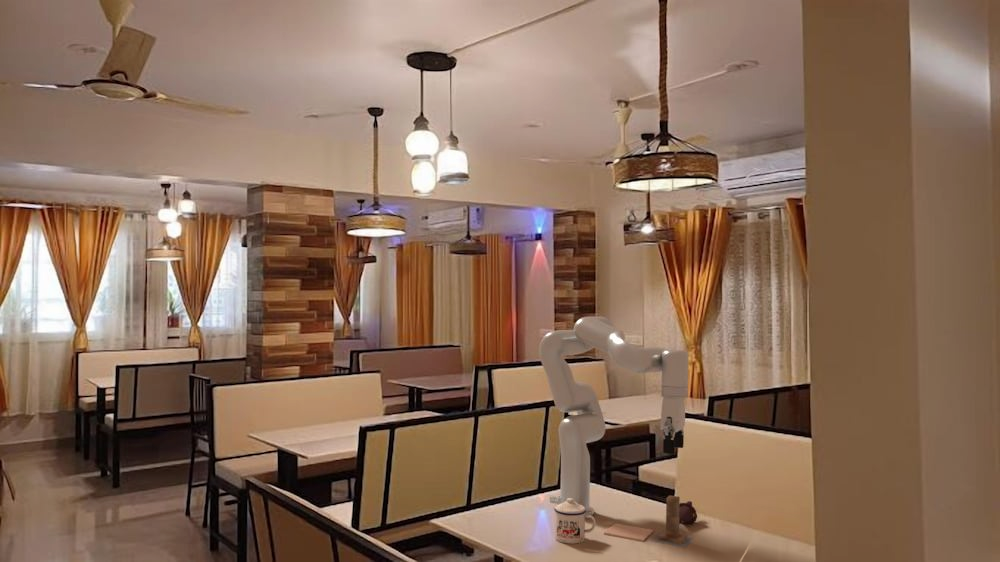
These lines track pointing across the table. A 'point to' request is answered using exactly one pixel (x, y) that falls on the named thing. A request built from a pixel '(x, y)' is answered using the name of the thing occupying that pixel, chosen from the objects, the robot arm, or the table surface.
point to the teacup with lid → (571, 522)
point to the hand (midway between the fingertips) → (673, 450)
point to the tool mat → (673, 542)
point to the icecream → (687, 513)
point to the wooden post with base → (672, 522)
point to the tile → (628, 532)
